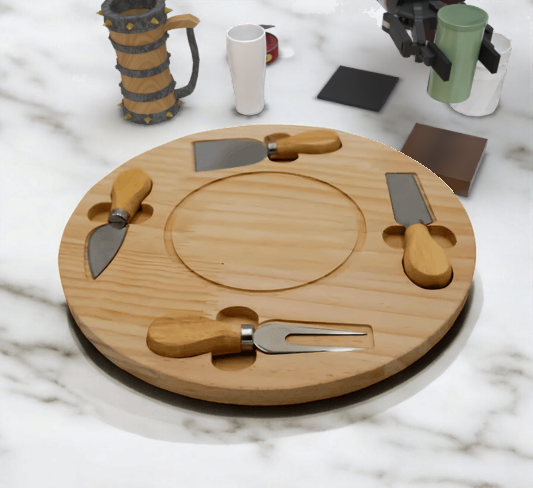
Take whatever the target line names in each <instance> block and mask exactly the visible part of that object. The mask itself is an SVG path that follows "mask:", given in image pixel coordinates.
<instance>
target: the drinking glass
mask: <svg viewBox="0 0 533 488" xmlns="http://www.w3.org/2000/svg"><path fill="white" fill-rule="evenodd" d="M259 25H260V24H256V23H247V22H246V23H239V24H235V25H233V26H231V27H229V28H228V29H227V30H226V33H225V40H226V41H225V43H226V55H227V62H228V67H229V74H230V79H231V85H232V91H233V96H234V97H233V98H234V108H235V110H236V111H237V112H238V113H239V114H241V115H244V116H256V115H258V114H260V113H262V111H263V110H264V108H265V86H266V69H267V66H266V35H265V32H266V29H264V28H262V27H261V26H259Z"/></svg>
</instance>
